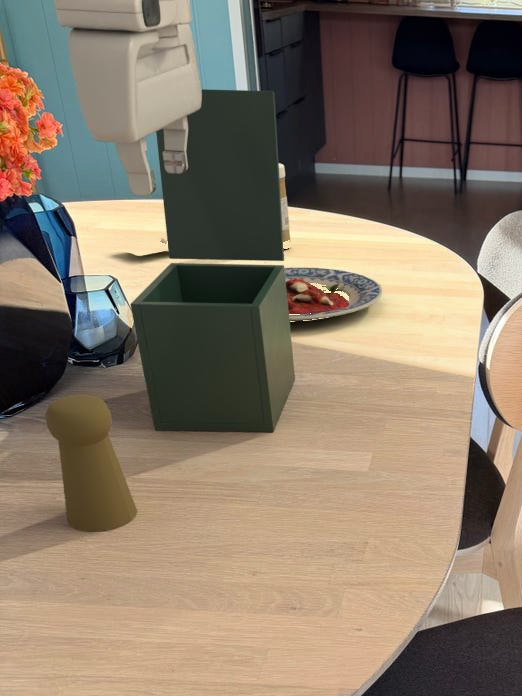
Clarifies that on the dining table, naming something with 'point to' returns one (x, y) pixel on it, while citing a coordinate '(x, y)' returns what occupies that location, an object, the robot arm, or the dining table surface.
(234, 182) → the lid
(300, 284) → the ceramic plate
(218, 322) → the box
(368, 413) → the dining table surface
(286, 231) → the sprinkles bottle
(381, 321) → the dining table surface
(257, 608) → the dining table surface
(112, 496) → the olive pawn
